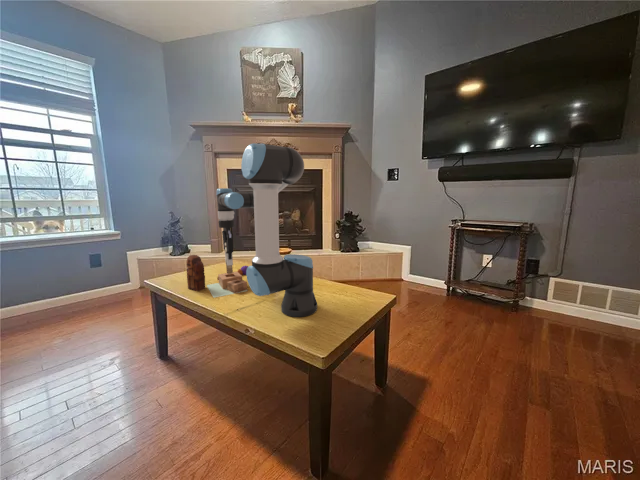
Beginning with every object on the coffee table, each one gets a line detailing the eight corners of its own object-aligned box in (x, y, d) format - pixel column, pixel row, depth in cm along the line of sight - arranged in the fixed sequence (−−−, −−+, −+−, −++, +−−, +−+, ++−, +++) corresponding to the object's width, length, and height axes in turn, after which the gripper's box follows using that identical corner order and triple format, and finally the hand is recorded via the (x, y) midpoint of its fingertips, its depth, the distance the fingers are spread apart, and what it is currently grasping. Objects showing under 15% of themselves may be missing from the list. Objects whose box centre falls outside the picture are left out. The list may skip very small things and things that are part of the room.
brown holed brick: (247, 289, 129) (246, 281, 129) (234, 293, 124) (233, 285, 124) (240, 286, 134) (239, 278, 133) (227, 289, 129) (226, 282, 128)
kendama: (215, 274, 144) (245, 264, 159) (217, 284, 145) (248, 273, 160) (220, 274, 140) (251, 264, 155) (222, 285, 141) (253, 273, 156)
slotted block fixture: (248, 292, 128) (247, 281, 127) (213, 299, 119) (212, 287, 118) (237, 281, 144) (236, 271, 143) (206, 286, 136) (205, 275, 135)
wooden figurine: (184, 289, 133) (180, 255, 130) (196, 285, 138) (192, 252, 135) (197, 294, 126) (193, 258, 123) (208, 290, 131) (206, 255, 128)
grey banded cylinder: (233, 273, 135) (231, 243, 132) (227, 274, 133) (225, 243, 131) (232, 271, 138) (230, 242, 135) (226, 272, 136) (224, 242, 133)
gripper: (238, 220, 126) (240, 267, 130) (230, 217, 139) (232, 260, 143) (221, 221, 122) (225, 269, 126) (215, 218, 135) (218, 261, 139)
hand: (229, 264), depth 135 cm, fingers closed on grey banded cylinder, 3 cm apart
